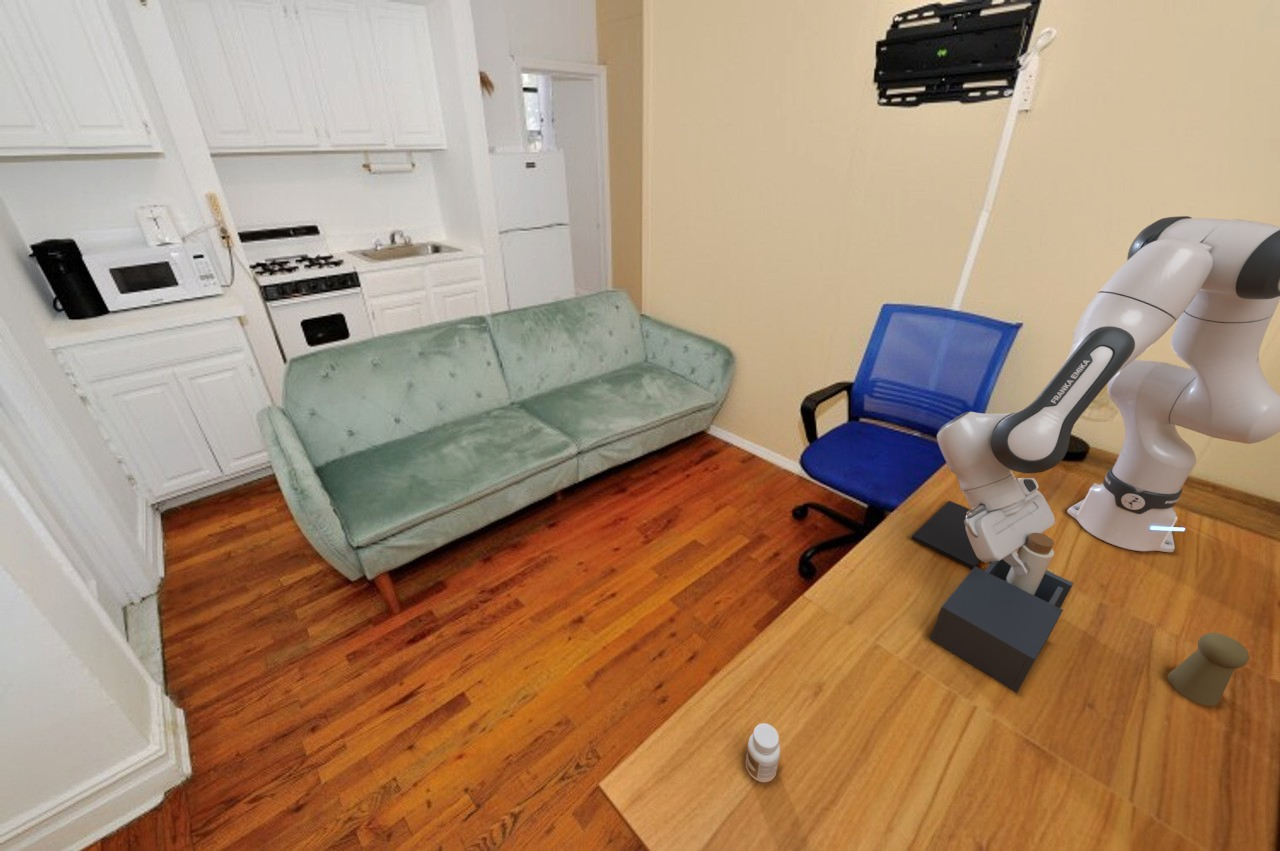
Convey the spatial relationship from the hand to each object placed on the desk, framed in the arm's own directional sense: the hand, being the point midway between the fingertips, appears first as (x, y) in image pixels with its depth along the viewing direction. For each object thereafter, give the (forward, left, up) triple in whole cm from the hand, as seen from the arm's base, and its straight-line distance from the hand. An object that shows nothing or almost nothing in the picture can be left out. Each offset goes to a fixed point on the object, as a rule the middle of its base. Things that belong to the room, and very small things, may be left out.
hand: (1033, 567), depth 92 cm
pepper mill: (0, -1, -8) cm, 8 cm away
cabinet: (+12, -1, -11) cm, 16 cm away
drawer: (-1, -1, -10) cm, 10 cm away
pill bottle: (+60, -14, -11) cm, 62 cm away
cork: (-3, +24, -11) cm, 27 cm away
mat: (-15, -16, -11) cm, 24 cm away
